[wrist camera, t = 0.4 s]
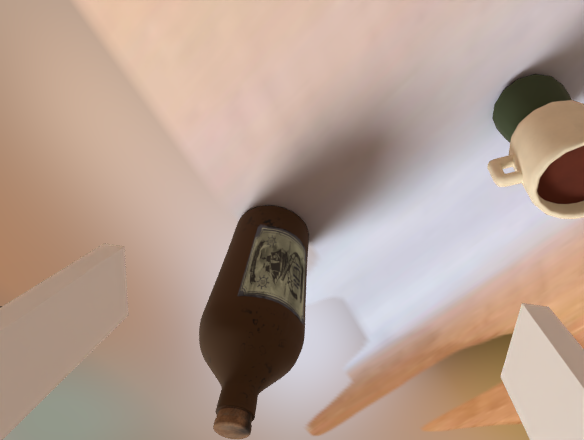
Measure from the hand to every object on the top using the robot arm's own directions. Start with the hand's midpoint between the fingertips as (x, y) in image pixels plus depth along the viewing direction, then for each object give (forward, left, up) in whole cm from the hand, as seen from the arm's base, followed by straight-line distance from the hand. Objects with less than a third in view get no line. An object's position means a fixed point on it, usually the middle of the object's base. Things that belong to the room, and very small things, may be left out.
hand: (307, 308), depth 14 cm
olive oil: (+18, -18, -31) cm, 40 cm away
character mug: (+15, +13, -31) cm, 37 cm away
